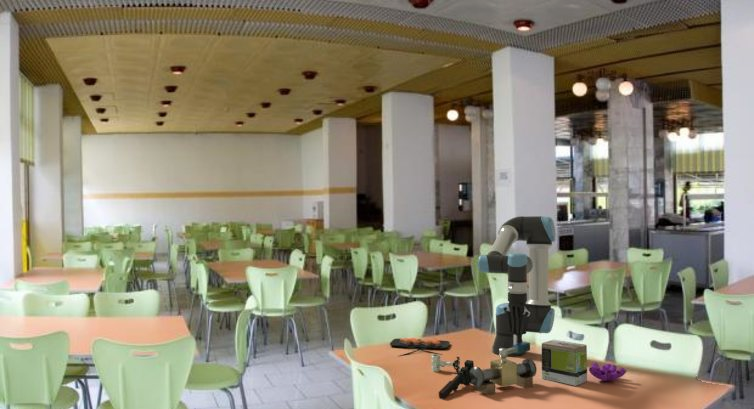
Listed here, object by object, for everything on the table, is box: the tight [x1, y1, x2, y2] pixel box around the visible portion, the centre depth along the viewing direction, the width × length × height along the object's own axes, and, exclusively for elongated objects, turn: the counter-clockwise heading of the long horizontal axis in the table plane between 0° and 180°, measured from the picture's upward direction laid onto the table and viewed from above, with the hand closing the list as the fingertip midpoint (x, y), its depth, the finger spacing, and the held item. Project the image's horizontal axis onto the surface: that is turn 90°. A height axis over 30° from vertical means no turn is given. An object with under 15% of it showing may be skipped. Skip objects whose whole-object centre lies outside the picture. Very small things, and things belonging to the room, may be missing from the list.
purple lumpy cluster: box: [588, 362, 627, 382], centre depth 238 cm, size 11×15×10 cm
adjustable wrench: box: [438, 359, 475, 400], centre depth 228 cm, size 8×3×25 cm
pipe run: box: [470, 357, 537, 396], centre depth 230 cm, size 27×8×12 cm, turn 116°
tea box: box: [541, 339, 588, 387], centre depth 239 cm, size 15×10×15 cm, turn 44°
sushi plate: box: [389, 337, 451, 357], centre depth 290 cm, size 29×30×4 cm
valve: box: [430, 353, 461, 373], centre depth 253 cm, size 7×7×12 cm
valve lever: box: [498, 341, 531, 359], centre depth 235 cm, size 18×3×3 cm, turn 132°
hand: (517, 350), depth 239 cm, fingers closed
